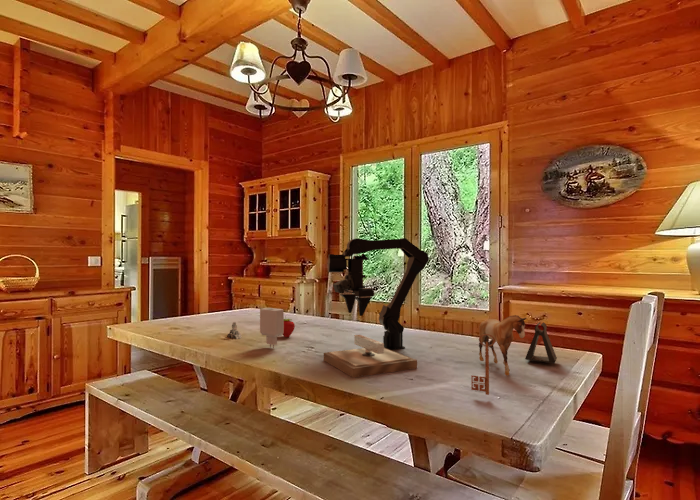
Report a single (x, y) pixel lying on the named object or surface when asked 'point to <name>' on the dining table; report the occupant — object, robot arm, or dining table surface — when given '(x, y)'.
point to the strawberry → (288, 327)
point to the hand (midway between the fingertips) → (355, 314)
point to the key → (477, 386)
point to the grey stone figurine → (234, 332)
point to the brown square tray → (369, 362)
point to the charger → (271, 324)
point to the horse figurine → (501, 335)
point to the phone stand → (547, 344)
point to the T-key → (369, 344)
